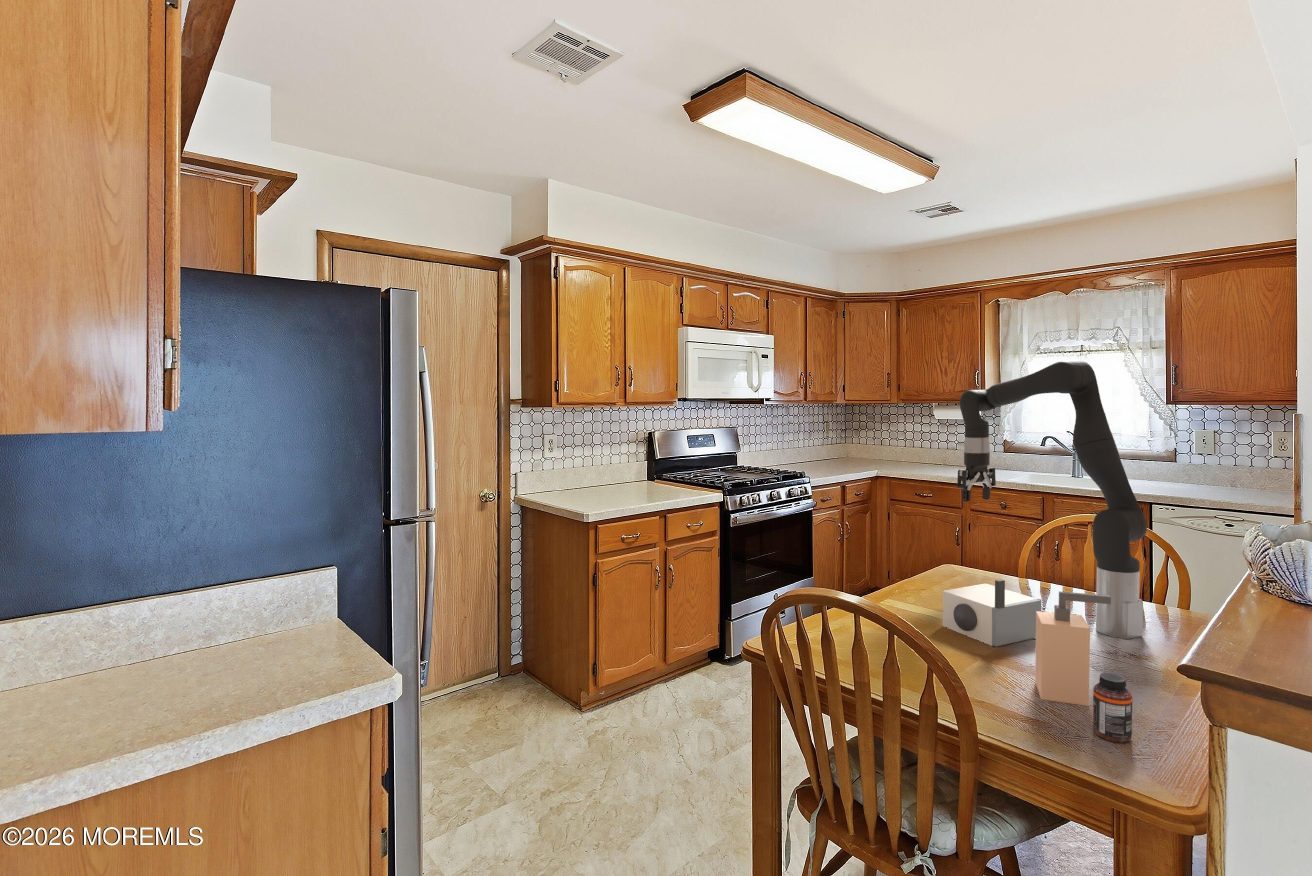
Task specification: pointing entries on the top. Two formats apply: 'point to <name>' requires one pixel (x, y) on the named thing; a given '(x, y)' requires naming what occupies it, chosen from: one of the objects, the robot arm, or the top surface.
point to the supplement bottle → (1112, 708)
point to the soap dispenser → (1064, 651)
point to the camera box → (974, 609)
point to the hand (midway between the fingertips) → (976, 500)
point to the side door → (1012, 618)
